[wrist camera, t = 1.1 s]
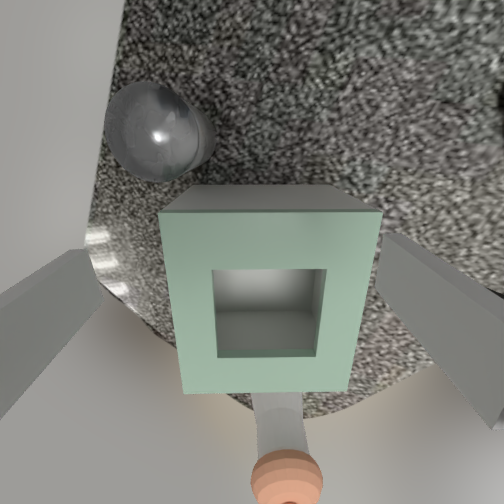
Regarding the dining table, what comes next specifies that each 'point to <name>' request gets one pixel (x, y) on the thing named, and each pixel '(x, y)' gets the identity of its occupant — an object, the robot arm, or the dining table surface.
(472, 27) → the dining table surface
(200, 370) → the caddy
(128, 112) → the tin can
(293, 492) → the pepper shaker
